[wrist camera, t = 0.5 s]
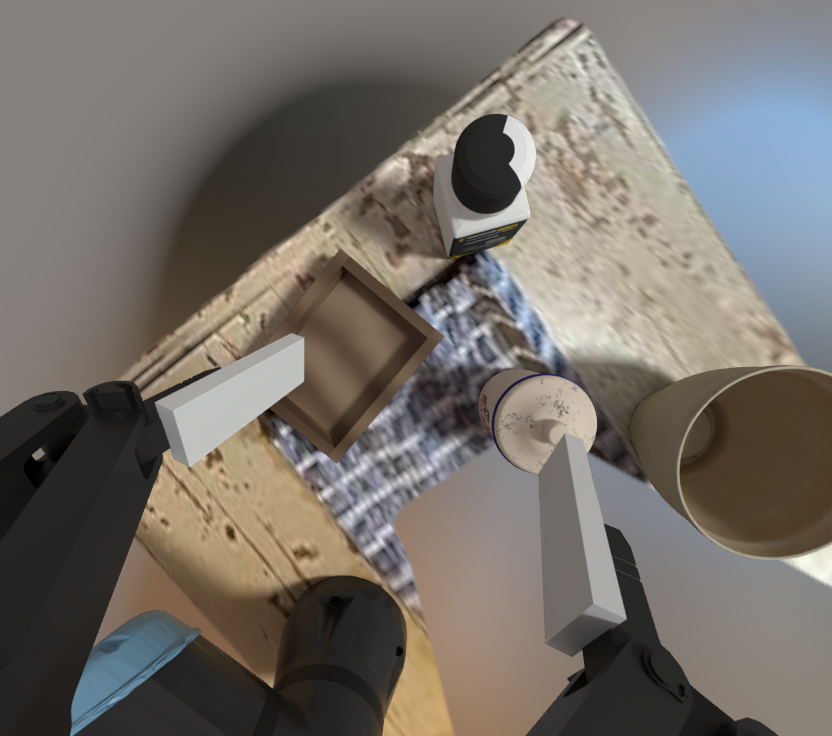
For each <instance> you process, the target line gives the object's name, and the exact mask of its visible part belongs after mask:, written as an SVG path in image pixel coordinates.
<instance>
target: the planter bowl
mask: <svg viewBox="0 0 832 736" xmlns="http://www.w3.org/2000/svg"><path fill="white" fill-rule="evenodd" d="M630 435H631V440H632V443H633V445H634V447H635V449H636V451H637V454H638V458H639V461H640V463H641V465H642V468H643V470H644V472H645V474H646V476H647V477H648V479H649V481H650V482H651V484H652V485H653V486H654V488H655V489H656V490H657V492H658V493H659V494H660V495H661V496H662V498H663V499H664V500H665V501H666V502H667V503H668V504H669V505H670V506H671V507H672V508H673V509H675V510H676V511H677V512H678V513H679V514H680V515H681V516H683V517H684V518H685V519H686V520H688V521H689V522H690V523H691V524H692V525H693V526H694V527H695V528H696V529H697V530H698V531H699V532H700V533H701V534H703V535H704V536H705V537H707V538H708V539H709V540H711V541H712V542H713V543H715V544H716V545H718V546H720V547H722V548H724V549H726V550H728V551H730V552H732V553H735V554H738V555H741V556H745V557H749V558H755V559H764V560H783V559H790V558H796V557H800V556H804V555H807V554H810V553H813V552H816V551H818V550H821V549H823V548H825V547H827V546H829V545H831V544H832V373H830V372H827V371H824V370H820V369H817V368H811V367H804V366H790V365H779V366H766V367H736V368H726V369H718V370H713V371H708V372H703V373H699V374H696V375H693V376H690V377H687V378H684V379H682V380H679V381H677V382H675V383H673V384H671V385H669V386H668V387H666V388H664V389H661V390H659V391H656V392H654V393H652V394H651V395H649V396H648V397H647V398H645V399H644V400H643V401H642V402H641V403H640V404H639V406H638V407H637V409H636V410H635V412H634V415H633V417H632V420H631V425H630Z"/></svg>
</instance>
